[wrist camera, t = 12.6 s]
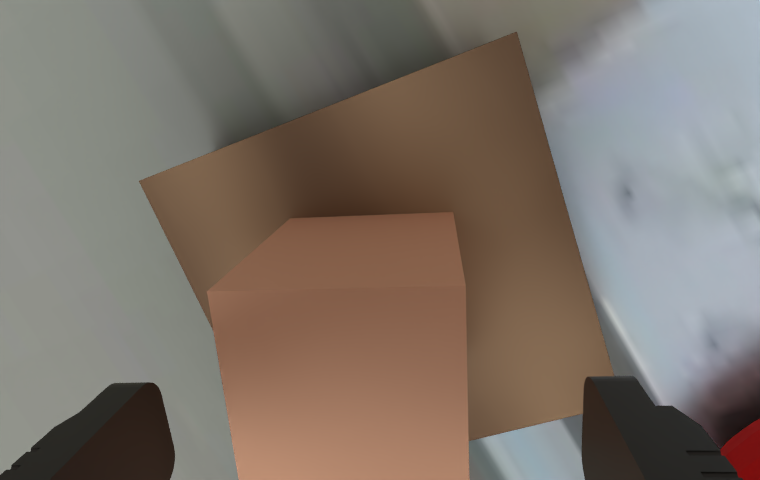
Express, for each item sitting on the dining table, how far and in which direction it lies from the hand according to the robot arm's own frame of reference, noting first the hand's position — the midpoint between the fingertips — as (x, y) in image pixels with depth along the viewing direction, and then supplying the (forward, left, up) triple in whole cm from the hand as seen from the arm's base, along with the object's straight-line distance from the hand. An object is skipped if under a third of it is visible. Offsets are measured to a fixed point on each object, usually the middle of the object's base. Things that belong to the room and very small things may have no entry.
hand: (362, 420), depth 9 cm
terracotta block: (+1, 0, -7) cm, 7 cm away
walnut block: (0, 0, -13) cm, 13 cm away
